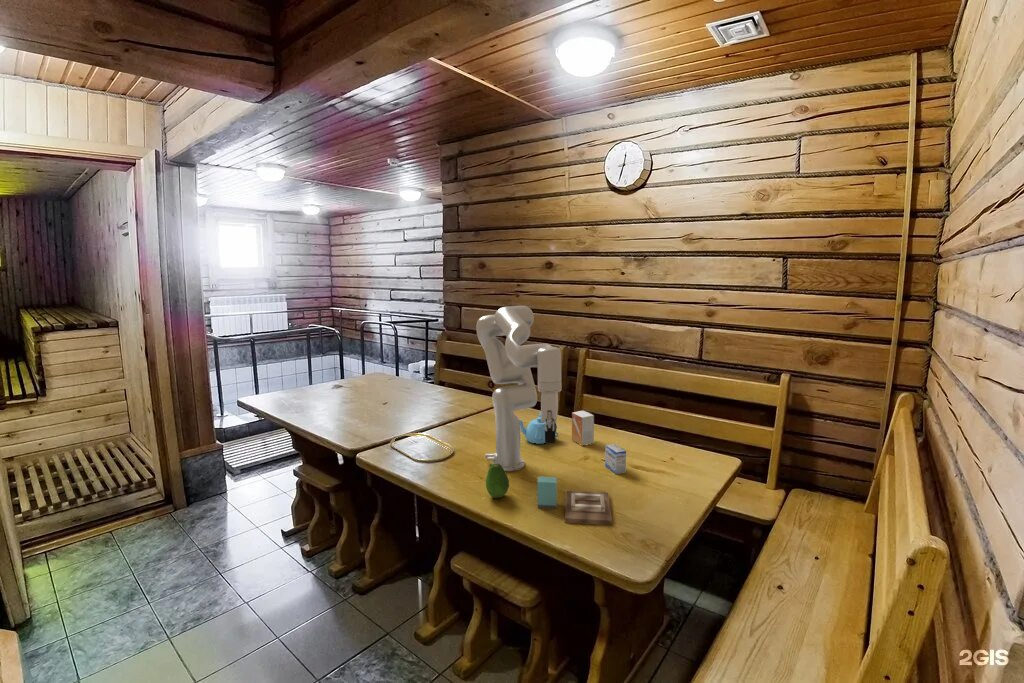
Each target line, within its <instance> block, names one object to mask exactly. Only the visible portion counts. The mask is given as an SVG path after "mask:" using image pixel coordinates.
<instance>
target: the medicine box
mask: <svg viewBox="0 0 1024 683" xmlns="http://www.w3.org/2000/svg"><path fill="white" fill-rule="evenodd" d="M604 450H605V452H604V453H605V456H604V457H605V458H604V467H606V468H607V469H608V470H609V469H610V472H613V473H614V474H615V475H618V474H624V473H626V471H627V470H626V469H627V451H626V450H625V449H623V448H622V447H620V446H619V445H617V444H615V443H613V444H607V445H605V449H604Z"/></svg>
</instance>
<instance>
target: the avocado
mask: <svg viewBox="0 0 1024 683" xmlns="http://www.w3.org/2000/svg"><path fill="white" fill-rule="evenodd" d="M485 487H486V490H487V493H488V494H489V496H490V497H492V498H495V499H497V498H498V499H499V498H502V497H504V496H506V494H507V493H508V490H509V488H510V480H509V478H508V475H507V473H506V471H504V469H503V467H502V466H501V465H500V464H497V463H494V464H493V463H492V464H491V465H490V466H489V467H488V470H487V474H486V477H485Z"/></svg>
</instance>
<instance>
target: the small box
mask: <svg viewBox="0 0 1024 683" xmlns="http://www.w3.org/2000/svg"><path fill="white" fill-rule="evenodd" d="M594 428H595V415H594V414H592V413H591V412H587V411H585V410H578V411H574V412H571V441H572V440H573V442H574V441H575V442H574V443H576V442H577V443H576V444H578V443H579V444H581V445H586V444H590V443H594V444H595V442H594V441H595V439H594V437H595V435H594V434H595V429H594ZM579 444H578V445H579ZM581 445H580V446H581ZM590 445H591V444H590ZM586 446H587V445H586Z"/></svg>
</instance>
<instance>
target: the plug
mask: <svg viewBox="0 0 1024 683" xmlns="http://www.w3.org/2000/svg"><path fill="white" fill-rule="evenodd" d="M557 480H558V478H557V476H556V477H554V476H538V478H537V484H536V485H537V486H536V487H537V509H545V510H546V509H547V510H548V509H550V510H557V506H558V505H557V504H558V499H557V498H558V497H557V496H558V482H557Z"/></svg>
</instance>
